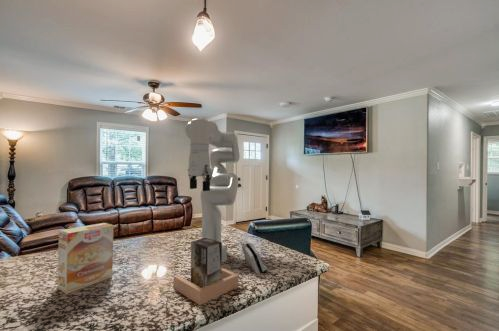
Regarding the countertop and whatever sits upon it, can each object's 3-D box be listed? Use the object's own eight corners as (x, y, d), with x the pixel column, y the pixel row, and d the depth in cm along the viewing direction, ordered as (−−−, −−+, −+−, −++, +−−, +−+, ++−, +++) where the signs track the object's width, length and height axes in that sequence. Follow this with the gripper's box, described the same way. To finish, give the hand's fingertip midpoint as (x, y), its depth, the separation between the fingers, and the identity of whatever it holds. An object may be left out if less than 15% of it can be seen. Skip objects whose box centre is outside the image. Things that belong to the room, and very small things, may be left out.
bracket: (173, 288, 83) (173, 276, 83) (211, 273, 95) (211, 263, 95) (199, 305, 73) (200, 291, 73) (238, 286, 84) (238, 274, 84)
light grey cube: (216, 265, 103) (216, 250, 104) (207, 261, 107) (207, 247, 108) (226, 261, 108) (226, 247, 108) (217, 257, 112) (217, 244, 112)
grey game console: (269, 272, 96) (261, 249, 95) (258, 278, 95) (250, 254, 94) (255, 257, 112) (248, 237, 111) (246, 262, 111) (239, 241, 110)
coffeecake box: (66, 294, 78) (67, 233, 78) (56, 288, 82) (57, 230, 82) (113, 277, 91) (114, 224, 91) (103, 272, 95) (104, 222, 95)
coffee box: (222, 291, 81) (222, 242, 81) (206, 298, 76) (207, 246, 77) (205, 282, 87) (205, 236, 87) (189, 289, 82) (190, 240, 83)
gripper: (181, 149, 106) (181, 188, 107) (203, 148, 94) (203, 192, 94) (196, 149, 111) (196, 187, 112) (219, 148, 99) (219, 190, 100)
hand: (199, 189), depth 103 cm, fingers open, 9 cm apart
